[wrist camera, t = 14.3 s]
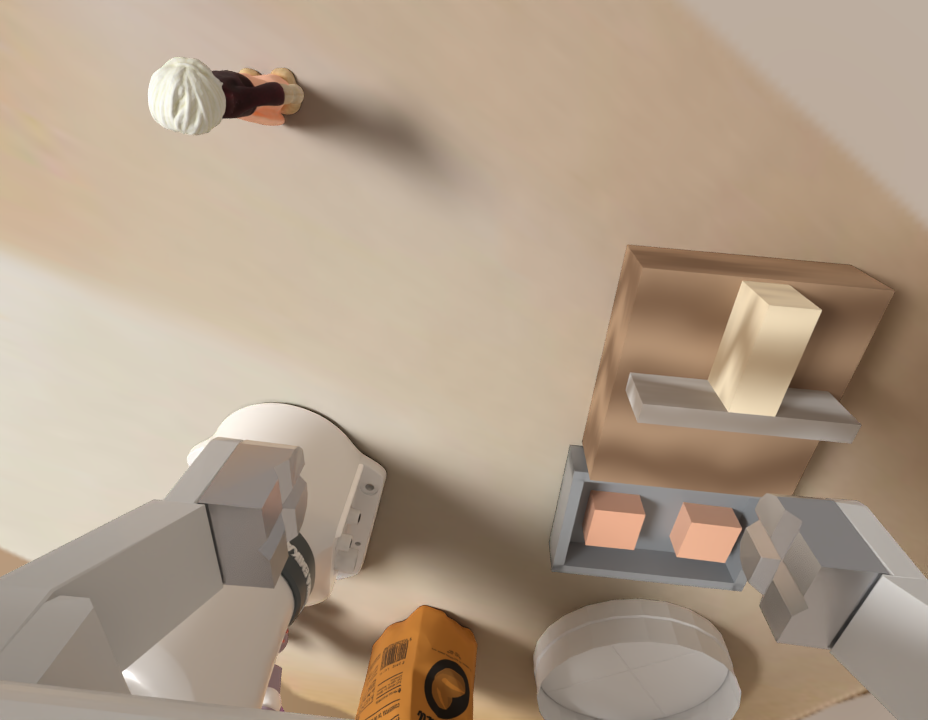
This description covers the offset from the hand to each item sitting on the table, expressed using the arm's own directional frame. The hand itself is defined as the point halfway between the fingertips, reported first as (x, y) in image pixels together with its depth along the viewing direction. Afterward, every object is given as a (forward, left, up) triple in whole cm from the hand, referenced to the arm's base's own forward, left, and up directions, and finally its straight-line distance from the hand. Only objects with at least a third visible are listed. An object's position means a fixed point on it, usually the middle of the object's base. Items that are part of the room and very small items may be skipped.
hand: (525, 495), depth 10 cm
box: (-29, -17, -31) cm, 46 cm away
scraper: (-9, -17, -26) cm, 32 cm away
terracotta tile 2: (-29, -13, -28) cm, 43 cm away
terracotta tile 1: (-30, -21, -28) cm, 46 cm away
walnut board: (-13, -17, -31) cm, 38 cm away
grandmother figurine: (+4, +16, -31) cm, 35 cm away
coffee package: (-53, +4, -31) cm, 62 cm away
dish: (-53, -20, -32) cm, 65 cm away
